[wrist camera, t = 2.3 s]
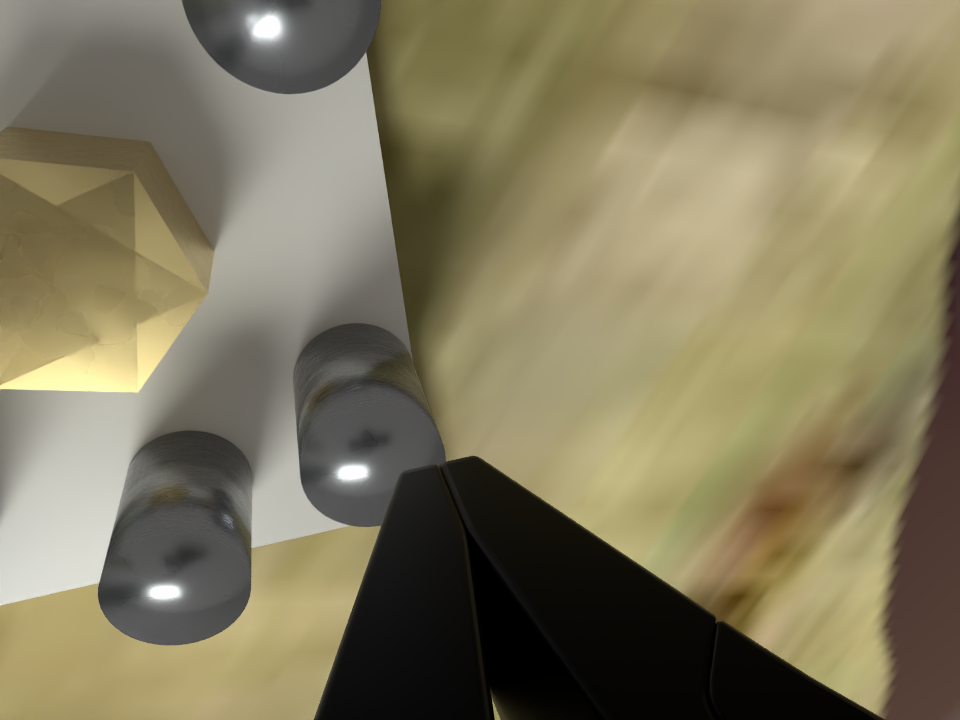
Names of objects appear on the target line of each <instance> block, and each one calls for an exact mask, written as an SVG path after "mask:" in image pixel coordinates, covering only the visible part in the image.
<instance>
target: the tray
mask: <svg viewBox="0 0 960 720" xmlns="http://www.w3.org/2000/svg"><path fill="white" fill-rule="evenodd" d="M8 126H10V127H19V128H28V129H37V130H46V131H56V132H65V133H74V134H83V135H92V136H101V137H110V138H119V139H129V140H138V141H147V142H151V144H152V146H153V147H154V149H155V151H156V152H157V154H158V156H159V157H160V159H161V161H162V163H163V164H164V166H165V168H166V169H167V171H168V173H169V175H170V176H171V178H172V180H173V181H174V183H175V185H176V186H177V188H178V190H179V192H180V193H181V195H182V197H183V198H184V200H185V202H186V204H187V205H188V207H189V209H190V210H191V212H192V214H193V215H194V217H195V219H196V221H197V222H198V224H199V226H200V227H201V229H202V231H203V233H204V234H205V236H206V238H207V239H208V241H209V243H210V244H211V246H212V248H213V250H214V257H213V264H212V270H211V277H210V284H209V290H208V294H207V295H206V297H205V298H204V300H203V301H202V303H201V304H200V305H199V307H198V308H197V310H196V311H195V313H194V314H193V315H192V317H191V318H190V320H189V321H188V322H187V324H186V325H185V327H184V328H183V330H182V331H181V332H180V334H179V335H178V337H177V338H176V339H175V341H174V342H173V344H172V345H171V347H170V348H169V349H168V351H167V352H166V354H165V355H164V356H163V358H162V359H161V361H160V362H159V364H158V365H157V366H156V368H155V369H154V371H153V372H152V373H151V375H150V376H149V378H148V379H147V381H146V382H145V383H144V385H143V386H142V388H141V389H140V391H139V392H138V393H133V392H96V391H59V390H21V389H0V605H4V604H8V603H13V602H17V601H22V600H26V599H30V598H35V597H39V596H44V595H48V594H52V593H57V592H61V591H65V590H70V589H74V588H79V587H83V586H87V585H92V584H96V583H99V582H100V578H101V574H102V570H103V566H104V562H105V558H106V554H107V550H108V546H109V542H110V538H111V534H112V531H113V527H114V523H115V519H116V515H117V511H118V507H119V503H120V499H121V495H122V491H123V487H124V483H125V479H126V475H127V471H128V468H129V465H130V463H131V461H132V459H133V458H134V456H135V455H136V454H137V452H138V451H139V450H140V449H141V448H142V447H143V446H145V445H146V444H147V443H149V442H150V441H152V440H154V439H156V438H158V437H160V436H163V435H165V434H168V433H172V432H178V431H189V430H193V431H203V432H208V433H212V434H215V435H218V436H220V437H223V438H224V439H226V440H228V441H230V442H231V443H233V444H234V445H235V446H236V447H237V448H239V449H240V450H241V452H242V453H243V454H244V455H245V457H246V458H247V460H248V462H249V465H250V467H251V471H252V546H251V548H254V547H259V546H263V545H267V544H272V543H276V542H281V541H285V540H289V539H294V538H298V537H303V536H307V535H311V534H316V533H320V532H325V531H329V530H333V529H338V528H342V527H347V526H351V525H346V524H342V523H339V522H337V521H334V520H332V519H330V518H328V517H326V516H325V515H323V514H322V513H321V512H319V511H318V510H317V509H316V508H315V507H314V506H313V505H312V504H311V502H310V501H309V500H308V498H307V496H306V495H305V493H304V490H303V487H302V484H301V478H300V468H299V454H298V441H297V428H296V414H295V401H294V388H293V373H294V368H295V364H296V361H297V359H298V357H299V355H300V354H301V352H302V350H303V349H304V348H305V347H306V345H307V344H308V343H309V342H310V341H311V340H312V339H314V338H315V337H316V336H318V335H319V334H320V333H322V332H324V331H326V330H328V329H330V328H333V327H336V326H339V325H343V324H350V323H363V324H370V325H375V326H378V327H380V328H383V329H385V330H387V331H389V332H391V333H392V334H393V335H395V336H396V337H397V338H398V339H399V340H400V341H402V343H403V344H404V345H405V347H406V348H407V350H408V351H409V353H410V356H411V358H412V353H411V346H410V339H409V333H408V326H407V319H406V313H405V306H404V300H403V293H402V286H401V280H400V273H399V266H398V260H397V253H396V247H395V240H394V233H393V227H392V220H391V213H390V207H389V200H388V194H387V187H386V180H385V174H384V167H383V160H382V154H381V147H380V141H379V134H378V127H377V121H376V114H375V107H374V101H373V94H372V88H371V81H370V74H369V68H368V61H367V54H366V53H365V54H364V56H363V57H362V59H361V60H360V61H359V62H358V63H357V65H356V66H355V67H354V68H353V69H352V70H351V71H350V72H349V73H348V74H346V75H345V76H344V77H342V78H341V79H339V80H338V81H336V82H335V83H333V84H331V85H329V86H327V87H324V88H322V89H319V90H316V91H312V92H307V93H302V94H278V93H273V92H268V91H264V90H261V89H258V88H255V87H252V86H250V85H248V84H246V83H244V82H242V81H240V80H238V79H237V78H235V77H234V76H232V75H230V74H229V73H228V72H227V71H225V70H224V69H223V68H222V67H220V66H219V65H218V64H217V63H216V62H215V61H214V60H213V59H212V58H211V57H210V56H209V54H208V53H207V52H206V51H205V49H204V48H203V47H202V45H201V44H200V42H199V41H198V39H197V37H196V36H195V34H194V32H193V31H192V28H191V26H190V24H189V22H188V19H187V17H186V14H185V10H184V7H183V4H182V0H0V132H1V131H2V130H4V129H5V128H6V127H8ZM412 361H413V359H412Z"/></svg>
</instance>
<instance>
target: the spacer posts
mask: <svg viewBox="0 0 960 720" xmlns="http://www.w3.org/2000/svg"><path fill="white" fill-rule="evenodd" d="M182 4H183V7H184V10H185V14H186V17H187V19H188V22H189V24H190V26H191V28H192V31H193V32H194V34H195V36H196V37H197V39H198V41H199V42H200V44H201V45H202V47H203V48H204V49H205V51H206V52H207V53H208V54H209V56H210V57H211V58H212V59H213V60H214V61H215V62H216V63H217V64H218V65H219V66H220V67H222V68H223V69H224V70H225V71H227V72H228V73H229V74H230V75H232V76H234V77H235V78H237V79H238V80H240V81H242V82H244V83H246V84H248V85H250V86H252V87H255V88H258V89H261V90H264V91H268V92H273V93H278V94H302V93H307V92H312V91H316V90H319V89H322V88H324V87H327V86H329V85H331V84H333V83H335V82H336V81H338V80H339V79H341V78H342V77H344V76H345V75H346V74H348V73H349V72H350V71H351V70H352V69H353V68H354V67H355V66H356V65H357V63H358V62H359V61H360V60H361V59H362V57H363V56H364V54H365V53H366V51H367V49H368V48H369V46H370V44H371V42H372V39H373V37H374V35H375V32H376V28H377V25H378V22H379V16H380V10H381V0H182ZM293 388H294V401H295V414H296V428H297V441H298V454H299V468H300V478H301V484H302V487H303V490H304V493H305V495H306V496H307V498H308V500H309V501H310V502H311V504H312V505H313V506H314V507H315V508H316V509H317V510H318V511H319V512H321V513H322V514H323V515H325V516H326V517H328V518H330V519H332V520H334V521H337V522H339V523H342V524H346V525H351V526H358V527H371V526H380V525H382V523H383V520H384V517H385V514H386V511H387V508H388V505H389V502H390V500H391V497H392V494H393V491H394V488H395V485H396V482H397V479H398V477H399V475H400V473H402V472H403V471H405V470H409V469H414V468H419V467H423V466H428V465H434V464H435V465H438V466H439V465H440V464H441V463H443V462H445V461H446V460H445V450H444V446H443V443H442V440H441V437H440V435H439V432H438V429H437V426H436V424H435V421H434V418H433V416H432V413H431V410H430V407H429V405H428V402H427V399H426V396H425V394H424V391H423V388H422V386H421V383H420V380H419V377H418V375H417V372H416V369H415V366H414V364H413V361H412V358H411V356H410V353H409V351H408V350H407V348H406V347H405V345H404V344H403V343H402V341H400V340H399V339H398V338H397V337H396V336H395V335H393V334H392V333H391V332H389V331H387V330H385V329H383V328H380V327H378V326H375V325H370V324H363V323H350V324H343V325H339V326H336V327H333V328H330V329H328V330H326V331H324V332H322V333H320V334H319V335H318V336H316V337H315V338H314V339H312V340H311V341H310V342H309V343H308V344H307V345H306V347H305V348H304V349H303V350H302V352H301V354H300V355H299V357H298V359H297V361H296V364H295V368H294V373H293ZM251 546H252V471H251V467H250V465H249V462H248V460H247V458H246V457H245V455H244V454H243V453H242V452H241V450H240V449H239V448H237V447H236V446H235V445H234V444H233V443H231V442H230V441H228V440H226V439H224V438H223V437H220V436H218V435H215V434H212V433H208V432H203V431H193V430H189V431H178V432H172V433H168V434H165V435H163V436H160V437H158V438H156V439H154V440H152V441H150V442H149V443H147V444H146V445H145V446H143V447H142V448H141V449H140V450H139V451H138V452H137V454H136V455H135V456H134V458H133V459H132V461H131V463H130V465H129V468H128V471H127V475H126V479H125V483H124V487H123V491H122V495H121V499H120V503H119V507H118V511H117V515H116V519H115V523H114V527H113V531H112V534H111V538H110V542H109V546H108V550H107V554H106V558H105V562H104V566H103V570H102V574H101V578H100V582H99V587H98V598H99V603H100V606H101V609H102V611H103V613H104V615H105V616H106V618H107V619H108V620H109V622H110V623H111V624H112V625H113V626H114V627H116V628H117V629H118V630H120V631H121V632H122V633H124V634H126V635H128V636H130V637H132V638H134V639H137V640H140V641H143V642H147V643H152V644H157V645H183V644H189V643H194V642H198V641H201V640H205V639H207V638H210V637H212V636H214V635H216V634H218V633H220V632H222V631H223V630H225V629H226V628H228V627H229V626H230V625H231V624H232V623H234V622H235V621H236V620H237V618H238V617H239V616H240V615H241V614H242V612H243V611H244V609H245V607H246V605H247V603H248V600H249V597H250V591H251Z"/></svg>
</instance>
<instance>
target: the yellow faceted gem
mask: <svg viewBox="0 0 960 720" xmlns="http://www.w3.org/2000/svg"><path fill="white" fill-rule="evenodd" d="M213 257H214V250H213V248H212V246H211V244H210V243H209V241H208V239H207V238H206V236H205V234H204V233H203V231H202V229H201V227H200V226H199V224H198V222H197V221H196V219H195V217H194V215H193V214H192V212H191V210H190V209H189V207H188V205H187V204H186V202H185V200H184V198H183V197H182V195H181V193H180V192H179V190H178V188H177V186H176V185H175V183H174V181H173V180H172V178H171V176H170V175H169V173H168V171H167V169H166V168H165V166H164V164H163V163H162V161H161V159H160V157H159V156H158V154H157V152H156V151H155V149H154V147H153V146H152V144H151V142H147V141H138V140H129V139H119V138H110V137H101V136H92V135H83V134H74V133H65V132H56V131H46V130H37V129H28V128H19V127H10V126H8V127H6V128H5V129H4V130H2V131H1V132H0V389H21V390H59V391H96V392H133V393H138V392H139V391H140V389H141V388H142V386H143V385H144V383H145V382H146V381H147V379H148V378H149V376H150V375H151V373H152V372H153V371H154V369H155V368H156V366H157V365H158V364H159V362H160V361H161V359H162V358H163V356H164V355H165V354H166V352H167V351H168V349H169V348H170V347H171V345H172V344H173V342H174V341H175V339H176V338H177V337H178V335H179V334H180V332H181V331H182V330H183V328H184V327H185V325H186V324H187V322H188V321H189V320H190V318H191V317H192V315H193V314H194V313H195V311H196V310H197V308H198V307H199V305H200V304H201V303H202V301H203V300H204V298H205V297H206V295H207V294H208V290H209V284H210V277H211V270H212V264H213Z"/></svg>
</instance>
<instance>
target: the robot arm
mask: <svg viewBox="0 0 960 720" xmlns="http://www.w3.org/2000/svg"><path fill="white" fill-rule="evenodd" d="M491 696H492V697H491ZM492 699H493V701H494V704H495V706H496V709H497V711H498V714H499V716H500V719H501V720H885V719H883V718H881V717H880V716H878V715H876V714H874V713H873V712H871V711H869V710H867V709H866V708H864V707H862V706H860V705H859V704H857V703H855V702H853V701H852V700H850V699H848V698H846V697H844V696H843V695H841V694H839V693H837V692H836V691H834V690H832V689H830V688H829V687H827V686H825V685H823V684H822V683H820V682H818V681H816V680H815V679H813V678H811V677H810V676H808V675H807V674H805V673H803V672H802V671H800V670H799V669H797V668H796V667H794V666H792V665H791V664H789V663H788V662H786V661H785V660H783V659H781V658H780V657H778V656H777V655H775V654H774V653H772V652H770V651H769V650H767V649H766V648H764V647H762V646H761V645H759V644H758V643H756V642H755V641H753V640H752V639H750V638H749V637H747V636H746V635H744V634H743V633H741V632H740V631H738V630H737V629H735V628H734V627H732V626H731V625H729V624H728V623H726V622H725V621H718V622H717V618H716V616H715V615H714V614H712V613H711V612H709V611H708V610H706V609H705V608H703V607H702V606H700V605H699V604H697V603H696V602H694V601H693V600H691V599H690V598H688V597H687V596H685V595H684V594H682V593H681V592H679V591H678V590H677V589H675V588H674V587H672V586H671V585H669V584H668V583H666V582H665V581H663V580H662V579H660V578H659V577H657V576H656V575H654V574H653V573H651V572H650V571H648V570H647V569H645V568H644V567H642V566H641V565H639V564H638V563H636V562H635V561H633V560H632V559H630V558H629V557H627V556H626V555H624V554H623V553H621V552H620V551H618V550H617V549H615V548H614V547H612V546H611V545H609V544H608V543H606V542H605V541H603V540H602V539H600V538H599V537H597V536H596V535H594V534H593V533H591V532H590V531H589V530H587V529H586V528H584V527H583V526H581V525H580V524H578V523H577V522H575V521H574V520H572V519H571V518H569V517H568V516H566V515H565V514H563V513H562V512H560V511H559V510H557V509H556V508H554V507H553V506H551V505H550V504H548V503H547V502H545V501H544V500H542V499H541V498H539V497H538V496H536V495H535V494H533V493H532V492H530V491H529V490H527V489H526V488H524V487H523V486H521V485H520V484H518V483H517V482H515V481H514V480H512V479H511V478H509V477H508V476H506V475H505V474H504V473H502V472H501V471H499V470H498V469H496V468H495V467H493V466H492V465H490V464H489V463H487V462H486V461H484V460H483V459H481V458H479V457H477V456H469V457H465V458H460V459H456V460H451V461H447V462H443V463H441V464H440V465H439V466H438V465H435V464H434V465H428V466H423V467H419V468H414V469H409V470H405V471H403V472H402V473H400V475H399V477H398V479H397V482H396V485H395V488H394V491H393V494H392V497H391V500H390V502H389V505H388V508H387V511H386V514H385V517H384V520H383V523H382V525H381V528H380V531H379V534H378V537H377V540H376V543H375V545H374V548H373V551H372V554H371V557H370V560H369V563H368V566H367V568H366V571H365V574H364V577H363V580H362V583H361V586H360V589H359V591H358V594H357V597H356V600H355V603H354V606H353V609H352V612H351V614H350V617H349V620H348V623H347V626H346V629H345V632H344V635H343V637H342V640H341V643H340V646H339V649H338V652H337V655H336V657H335V660H334V663H333V666H332V669H331V672H330V675H329V678H328V680H327V683H326V686H325V689H324V692H323V695H322V698H321V701H320V703H319V706H318V709H317V712H316V715H315V718H314V720H495V719H494V711H493V704H492Z"/></svg>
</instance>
